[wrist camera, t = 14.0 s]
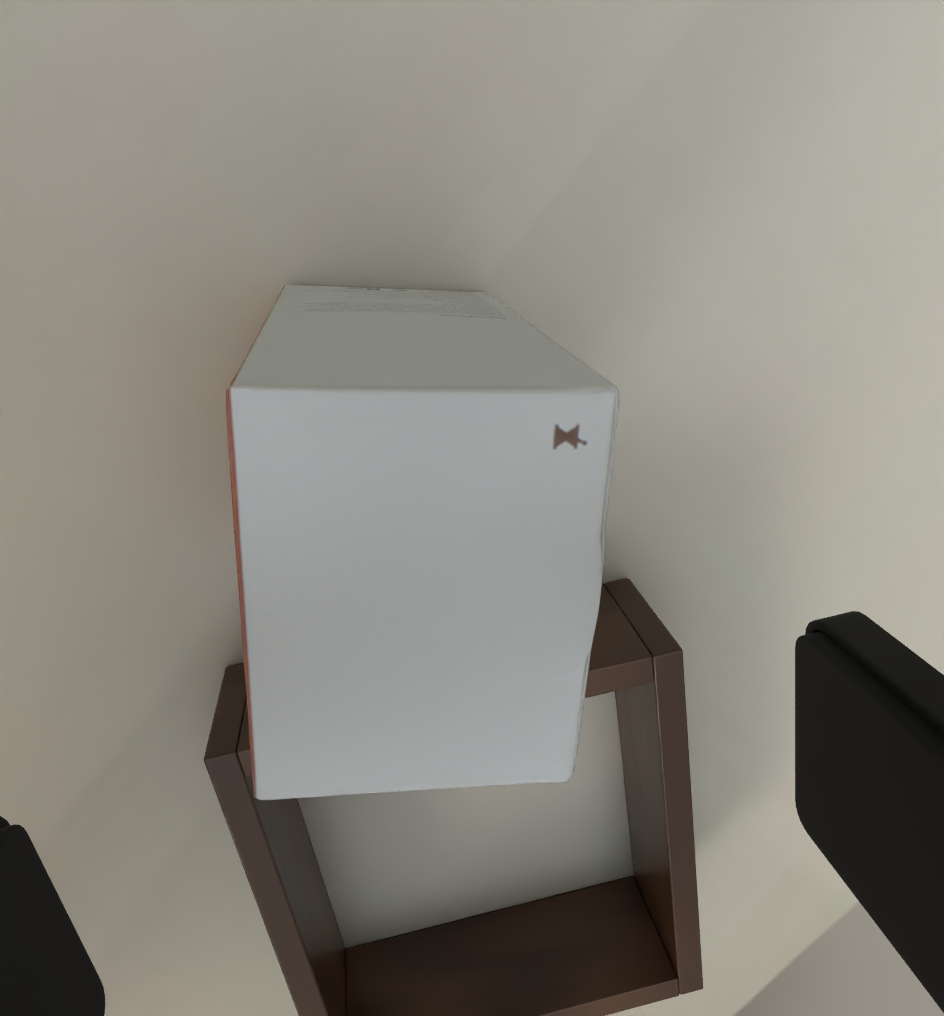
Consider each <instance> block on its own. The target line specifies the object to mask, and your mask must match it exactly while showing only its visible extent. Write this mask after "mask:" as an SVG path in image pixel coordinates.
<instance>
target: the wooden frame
mask: <svg viewBox="0 0 944 1016" xmlns="http://www.w3.org/2000/svg"><path fill="white" fill-rule="evenodd" d="M613 691H615V694H616V704H617V714H618V723H619V733H620V742H621V752H622V762H623V771H624V781H625V791H626V800H627V810H628V819H629V829H630V839H631V848H632V858H633V867H634V877H635V878H634V877H629V878H625V879H621V880H617V881H613V882H609V883H605V884H602V885H598V886H594V887H590V888H586V889H582V890H578V891H574V892H570V893H566V894H562V895H558V896H554V897H550V898H546V899H542V900H539V901H535V902H531V903H527V904H523V905H519V906H515V907H511V908H507V909H503V910H499V911H495V912H491V913H487V914H483V915H480V916H476V917H472V918H468V919H464V920H460V921H456V922H452V923H448V924H444V925H440V926H436V927H432V928H428V929H424V930H420V931H417V932H413V933H409V934H405V935H401V936H397V937H393V938H389V939H385V940H381V941H377V942H373V943H369V944H365V945H361V946H357V947H354V948H350V949H346V951H345V948H344V944H343V941H342V938H341V935H340V932H339V929H338V926H337V923H336V919H335V916H334V913H333V910H332V907H331V904H330V901H329V898H328V894H327V891H326V888H325V885H324V882H323V879H322V876H321V873H320V870H319V866H318V863H317V860H316V857H315V854H314V851H313V848H312V845H311V841H310V838H309V835H308V832H307V829H306V826H305V823H304V820H303V817H302V813H301V810H300V807H299V804H298V801H297V798H290V799H276V800H259V799H257V798H255V797H254V789H253V777H252V765H251V753H250V741H249V722H248V708H247V695H246V682H245V670H244V664H239V665H235V666H230V667H227V668H226V669H225V673H224V677H223V681H222V685H221V690H220V694H219V698H218V702H217V706H216V710H215V714H214V719H213V723H212V727H211V731H210V735H209V739H208V744H207V748H206V752H205V756H204V763H205V765H206V768H207V771H208V773H209V776H210V779H211V781H212V784H213V787H214V789H215V792H216V795H217V797H218V800H219V803H220V805H221V808H222V811H223V814H224V816H225V819H226V822H227V824H228V827H229V830H230V832H231V835H232V838H233V840H234V843H235V846H236V848H237V851H238V854H239V857H240V859H241V862H242V865H243V867H244V870H245V873H246V875H247V878H248V881H249V883H250V886H251V889H252V891H253V894H254V897H255V899H256V902H257V905H258V908H259V910H260V913H261V916H262V918H263V921H264V924H265V926H266V929H267V932H268V934H269V937H270V940H271V942H272V945H273V948H274V951H275V953H276V956H277V959H278V961H279V964H280V967H281V969H282V972H283V975H284V977H285V980H286V983H287V985H288V988H289V991H290V993H291V996H292V999H293V1002H294V1004H295V1007H296V1010H297V1012H298V1015H299V1016H605V1015H609V1014H612V1013H616V1012H620V1011H624V1010H627V1009H631V1008H635V1007H638V1006H642V1005H646V1004H650V1003H653V1002H657V1001H661V1000H664V999H668V998H672V997H676V996H679V993H680V994H685V993H689V992H693V991H697V990H700V989H702V988H703V978H702V962H701V945H700V929H699V913H698V896H697V880H696V864H695V847H694V831H693V814H692V798H691V782H690V765H689V749H688V733H687V716H686V700H685V684H684V667H683V651H682V649H681V647H680V646H679V645H678V643H677V642H676V641H675V639H674V638H673V637H672V635H671V634H670V633H669V631H668V630H667V629H666V627H665V626H664V625H663V623H662V622H661V621H660V619H659V618H658V617H657V615H656V614H655V613H654V611H653V610H652V609H651V607H650V606H649V605H648V603H647V602H646V601H645V599H644V598H643V597H642V595H641V594H640V593H639V591H638V590H637V589H636V587H635V586H634V585H633V583H632V582H631V581H630V579H624V580H620V581H615V582H611V583H606V584H605V585H603V584H602V587H601V595H600V603H599V611H598V617H597V622H596V627H595V632H594V637H593V642H592V648H591V653H590V662H589V669H588V676H587V683H586V690H585V698H587V697H591V696H596V695H600V694H604V693H609V692H613Z"/></svg>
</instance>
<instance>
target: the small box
mask: <svg viewBox="0 0 944 1016" xmlns="http://www.w3.org/2000/svg"><path fill="white" fill-rule="evenodd" d="M618 408H619V389H618V387H617V386H616V385H614V384H613V383H611V382H610V381H609V380H607V379H606V378H604V377H603V376H602V375H600V374H599V373H597V372H596V371H595V370H593V369H592V368H590V367H589V366H587V365H586V364H585V363H583V362H582V361H580V360H579V359H578V358H576V357H575V356H573V355H572V354H571V353H569V352H568V351H566V350H565V349H564V348H562V347H561V346H559V345H558V344H557V343H555V342H554V341H553V340H551V339H550V338H548V337H547V336H546V335H544V334H543V333H541V332H540V331H539V330H537V329H536V328H535V327H533V326H532V325H531V324H529V323H528V322H526V321H525V320H524V319H523V318H521V317H520V316H519V315H517V314H516V313H514V312H513V311H512V310H510V309H509V308H507V307H506V306H504V305H503V304H502V303H500V302H499V301H497V300H496V299H494V298H493V297H492V296H490V295H489V294H487V293H486V292H469V291H442V290H413V289H386V288H360V287H337V286H308V285H286V286H284V287H283V289H282V291H281V292H280V294H279V296H278V298H277V300H276V302H275V304H274V306H273V308H272V310H271V312H270V314H269V315H268V317H267V319H266V321H265V322H264V324H263V326H262V328H261V330H260V332H259V333H258V335H257V337H256V339H255V341H254V343H253V344H252V346H251V348H250V350H249V352H248V354H247V356H246V358H245V360H244V362H243V363H242V365H241V367H240V369H239V371H238V373H237V374H236V376H235V377H234V379H233V381H232V382H231V384H230V386H229V388H228V389H227V390H226V411H227V427H228V442H229V457H230V473H231V488H232V504H233V519H234V534H235V547H236V560H237V574H238V588H239V601H240V613H241V630H242V646H243V657H244V670H245V682H246V695H247V708H248V722H249V741H250V753H251V765H252V777H253V789H254V797H255V798H257V799H259V800H276V799H290V798H307V797H323V796H336V795H351V794H368V793H383V792H400V791H415V790H430V789H445V788H460V787H477V786H495V785H512V784H530V783H560V782H566V781H569V779H570V777H571V775H572V773H573V771H574V767H575V760H576V754H577V748H578V741H579V734H580V726H581V720H582V713H583V707H584V698H585V690H586V683H587V676H588V669H589V662H590V653H591V648H592V642H593V637H594V632H595V627H596V622H597V617H598V611H599V603H600V595H601V587H602V574H603V566H604V555H605V548H604V542H605V526H606V517H607V508H608V498H609V488H610V480H611V472H612V460H613V449H614V442H615V434H616V425H617V416H618Z"/></svg>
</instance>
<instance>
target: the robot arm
mask: <svg viewBox="0 0 944 1016" xmlns="http://www.w3.org/2000/svg"><path fill="white" fill-rule="evenodd" d="M795 801H796V808H797V812H798V815H799V818H800V821H801V823H802V825H803V827H804V829H805V830H806V832H807V833H808V835H809V836H810V837H811V839H812V840H813V841H814V842H815V844H816V845H817V846H818V848H819V849H820V850H821V852H822V853H823V854H824V856H825V857H826V858H827V860H828V861H829V862H830V864H831V865H832V866H833V868H834V869H835V870H836V871H837V873H838V874H839V875H840V877H841V878H842V879H843V881H844V882H845V883H846V885H847V886H848V887H849V889H850V890H851V891H852V893H853V894H854V895H855V897H856V898H857V899H858V900H859V902H860V903H861V904H862V906H863V907H864V908H865V910H866V911H867V912H868V913H869V915H870V916H871V917H872V919H873V920H874V922H875V923H876V924H877V925H878V927H879V928H880V929H881V931H882V932H883V933H884V935H885V936H886V937H887V939H888V940H889V941H890V942H891V944H892V945H893V947H894V948H895V949H896V951H897V952H898V953H899V954H900V956H901V957H902V958H903V960H904V961H905V962H906V964H907V965H908V966H909V968H910V969H911V970H912V971H913V973H914V974H915V976H916V977H917V978H918V980H919V981H920V982H921V983H922V985H923V986H924V987H925V989H926V990H927V991H928V993H929V994H930V995H931V996H932V998H933V999H934V1001H935V1002H936V1003H937V1005H938V1006H939V1007H940V1008H941V1010H942V1011H943V1012H944V675H943V674H941V673H940V672H939V671H937V670H936V669H935V668H933V667H932V666H931V665H930V664H928V663H927V662H926V661H924V660H923V659H922V658H920V657H919V656H918V655H916V654H915V653H914V652H913V651H911V650H910V649H909V648H907V647H906V646H905V645H903V644H902V643H901V642H900V641H898V640H897V639H896V638H894V637H893V636H892V635H890V634H889V633H888V632H886V631H885V630H884V629H883V628H881V627H880V626H879V625H877V624H876V623H875V622H873V621H872V620H871V619H870V618H868V617H867V616H866V615H864V614H862V613H860V612H855V611H852V612H848V613H844V614H839V615H835V616H831V617H827V618H823V619H819V620H814V621H812V622H810V623H809V624H808V626H807V628H806V634H805V635H803V636H800V637H799V638H798V639H797V641H796V646H795ZM104 1013H105V994H104V988H103V985H102V982H101V980H100V978H99V976H98V974H97V972H96V970H95V968H94V966H93V964H92V962H91V960H90V958H89V956H88V954H87V952H86V950H85V948H84V946H83V944H82V942H81V940H80V938H79V936H78V934H77V932H76V930H75V928H74V926H73V924H72V922H71V920H70V918H69V916H68V914H67V912H66V910H65V908H64V906H63V904H62V902H61V900H60V898H59V896H58V894H57V892H56V890H55V888H54V886H53V884H52V882H51V880H50V878H49V876H48V874H47V872H46V870H45V868H44V866H43V864H42V862H41V860H40V858H39V856H38V854H37V852H36V849H35V847H34V845H33V843H32V841H31V839H30V837H29V835H28V833H27V832H26V830H25V829H24V828H23V827H22V826H20V825H11V826H10V824H9V823H8V821H7V820H5V819H4V818H3V817H1V816H0V1016H104Z"/></svg>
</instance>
